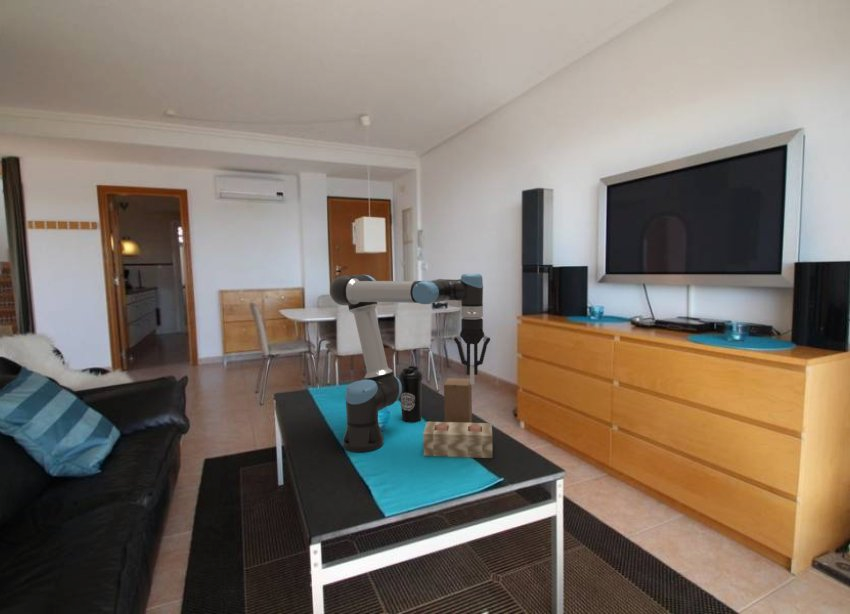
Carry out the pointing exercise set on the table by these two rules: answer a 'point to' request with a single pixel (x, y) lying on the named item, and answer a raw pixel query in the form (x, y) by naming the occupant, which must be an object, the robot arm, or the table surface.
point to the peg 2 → (475, 428)
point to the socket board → (458, 440)
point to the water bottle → (411, 394)
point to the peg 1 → (441, 427)
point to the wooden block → (458, 400)
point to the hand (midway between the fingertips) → (472, 383)
